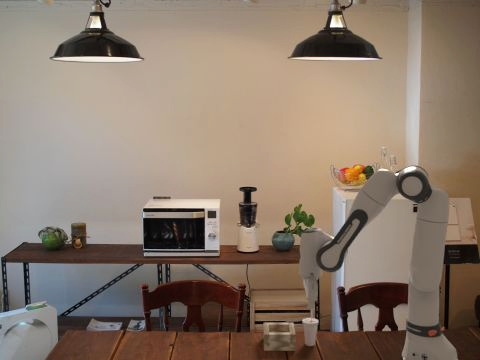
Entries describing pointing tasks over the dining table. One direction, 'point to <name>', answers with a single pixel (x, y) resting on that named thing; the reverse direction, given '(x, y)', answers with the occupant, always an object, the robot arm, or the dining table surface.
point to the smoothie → (310, 329)
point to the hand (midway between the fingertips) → (309, 303)
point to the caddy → (279, 337)
